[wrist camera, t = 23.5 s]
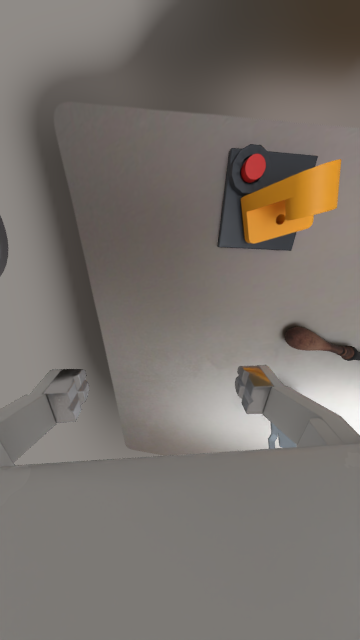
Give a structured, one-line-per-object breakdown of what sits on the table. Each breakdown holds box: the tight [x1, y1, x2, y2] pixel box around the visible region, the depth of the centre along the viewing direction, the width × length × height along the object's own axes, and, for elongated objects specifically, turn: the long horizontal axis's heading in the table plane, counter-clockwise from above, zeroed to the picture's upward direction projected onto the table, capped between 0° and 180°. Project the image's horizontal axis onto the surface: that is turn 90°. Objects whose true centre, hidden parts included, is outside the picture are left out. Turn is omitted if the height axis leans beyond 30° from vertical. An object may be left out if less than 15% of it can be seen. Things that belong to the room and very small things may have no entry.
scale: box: [218, 144, 318, 251], centre depth 31 cm, size 14×14×3 cm
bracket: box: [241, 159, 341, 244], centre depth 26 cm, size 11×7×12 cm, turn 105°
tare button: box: [241, 154, 266, 183], centre depth 27 cm, size 3×3×2 cm
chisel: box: [285, 327, 360, 361], centre depth 45 cm, size 5×43×5 cm, turn 71°
